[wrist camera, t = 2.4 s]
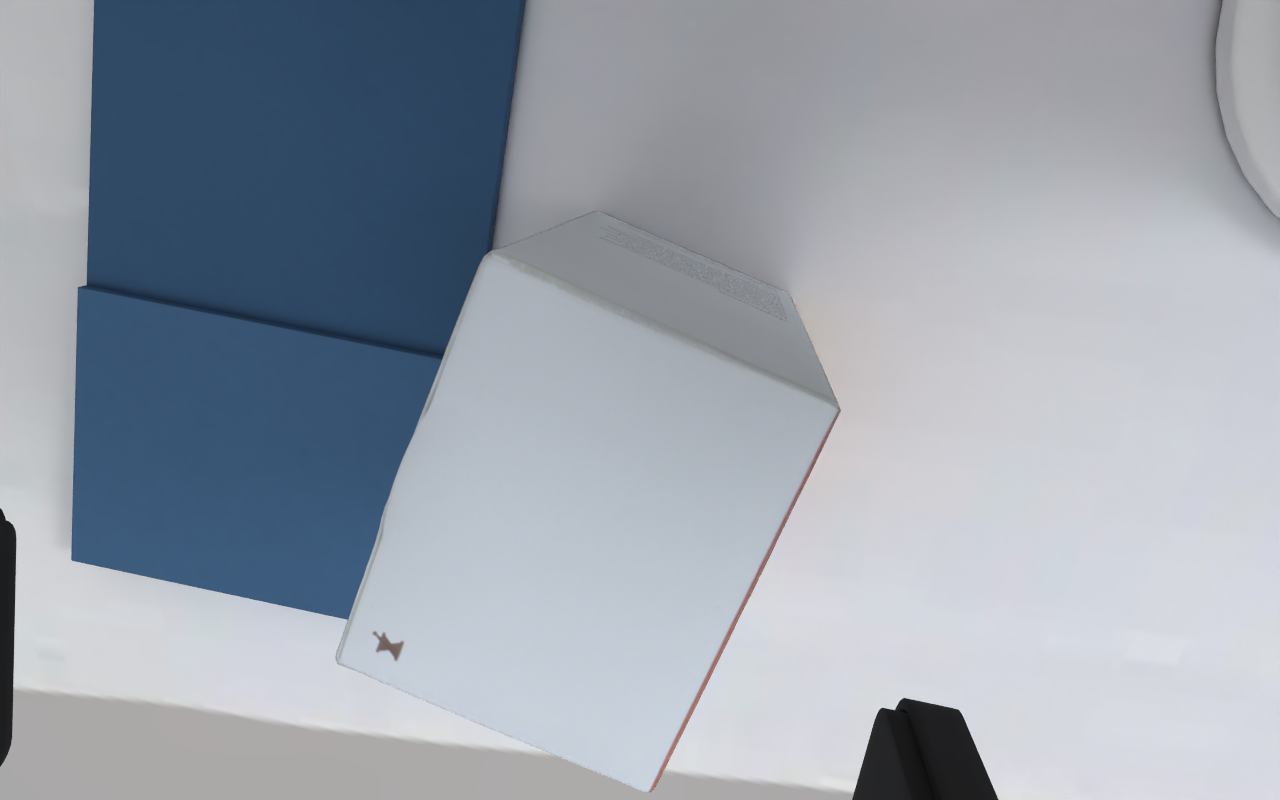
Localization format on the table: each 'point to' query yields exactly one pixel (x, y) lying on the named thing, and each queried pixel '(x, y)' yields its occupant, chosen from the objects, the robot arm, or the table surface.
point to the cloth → (275, 275)
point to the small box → (591, 494)
